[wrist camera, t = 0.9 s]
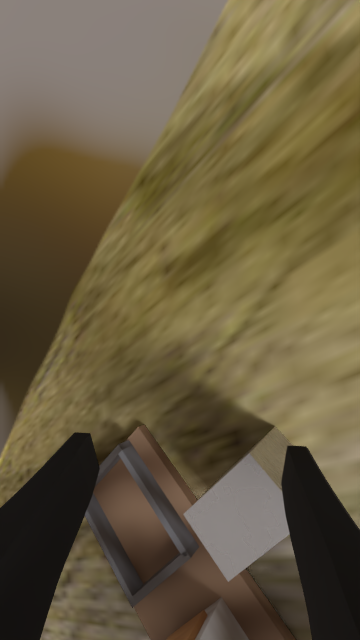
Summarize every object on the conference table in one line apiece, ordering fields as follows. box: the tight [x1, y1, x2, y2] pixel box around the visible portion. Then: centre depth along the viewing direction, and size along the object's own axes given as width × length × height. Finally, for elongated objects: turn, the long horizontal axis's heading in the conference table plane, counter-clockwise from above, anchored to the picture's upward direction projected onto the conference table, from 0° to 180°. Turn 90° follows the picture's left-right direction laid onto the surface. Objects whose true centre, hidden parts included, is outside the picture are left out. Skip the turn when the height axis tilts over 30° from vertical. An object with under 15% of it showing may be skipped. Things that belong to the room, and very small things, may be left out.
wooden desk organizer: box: [85, 425, 296, 640], centre depth 22 cm, size 19×11×8 cm, turn 45°
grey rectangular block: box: [183, 426, 293, 582], centre depth 20 cm, size 4×6×7 cm, turn 135°
